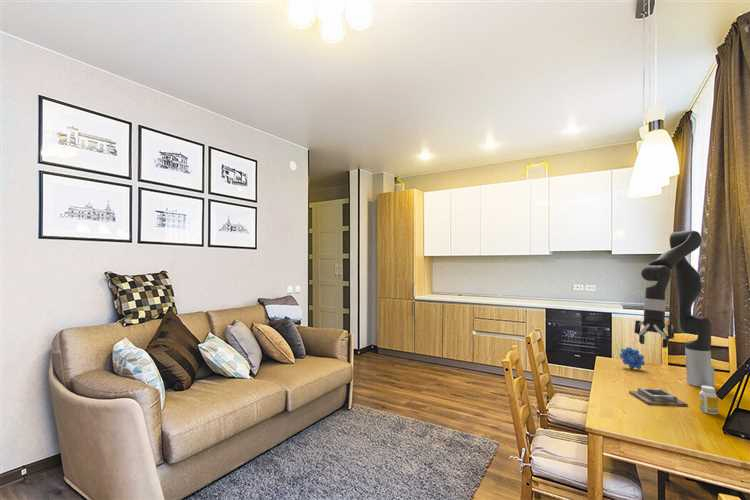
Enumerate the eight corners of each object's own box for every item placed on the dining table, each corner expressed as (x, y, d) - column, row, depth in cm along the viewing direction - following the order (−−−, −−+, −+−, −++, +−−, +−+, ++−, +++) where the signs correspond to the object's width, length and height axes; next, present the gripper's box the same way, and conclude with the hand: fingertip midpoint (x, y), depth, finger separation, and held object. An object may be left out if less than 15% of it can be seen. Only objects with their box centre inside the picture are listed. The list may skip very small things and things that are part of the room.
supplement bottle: (697, 410, 144) (696, 386, 144) (703, 408, 146) (702, 384, 147) (714, 415, 139) (713, 390, 139) (721, 413, 141) (720, 388, 142)
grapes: (619, 368, 202) (618, 347, 203) (620, 366, 208) (619, 345, 208) (645, 372, 195) (644, 350, 196) (645, 369, 201) (644, 347, 201)
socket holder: (665, 394, 162) (665, 387, 162) (687, 406, 148) (687, 398, 148) (629, 392, 164) (628, 386, 164) (647, 404, 150) (647, 397, 151)
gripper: (677, 312, 157) (676, 349, 156) (640, 308, 170) (639, 342, 168) (669, 310, 154) (668, 349, 152) (632, 307, 166) (631, 342, 165)
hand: (653, 345), depth 160 cm, fingers open, 8 cm apart
